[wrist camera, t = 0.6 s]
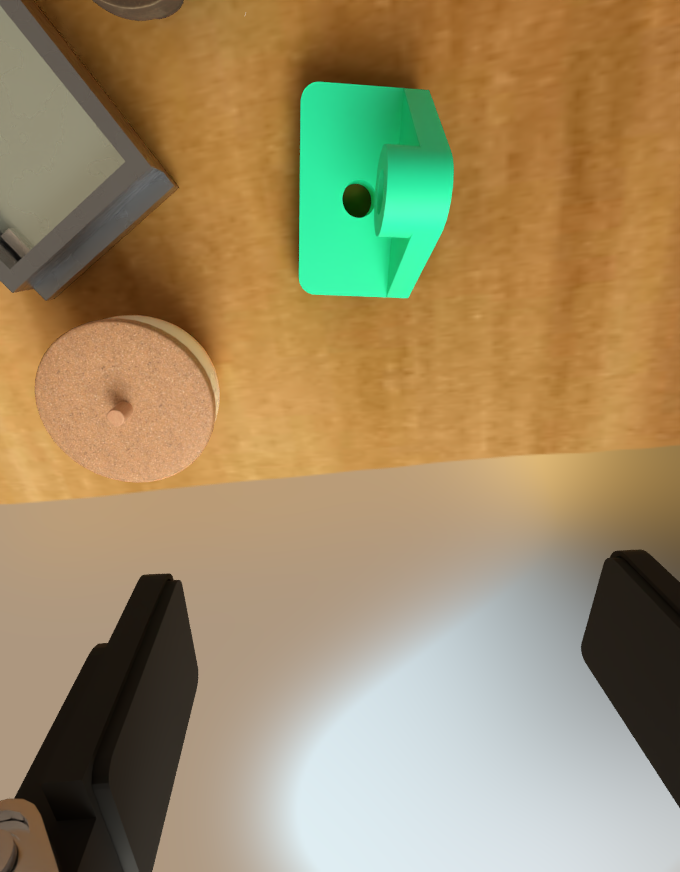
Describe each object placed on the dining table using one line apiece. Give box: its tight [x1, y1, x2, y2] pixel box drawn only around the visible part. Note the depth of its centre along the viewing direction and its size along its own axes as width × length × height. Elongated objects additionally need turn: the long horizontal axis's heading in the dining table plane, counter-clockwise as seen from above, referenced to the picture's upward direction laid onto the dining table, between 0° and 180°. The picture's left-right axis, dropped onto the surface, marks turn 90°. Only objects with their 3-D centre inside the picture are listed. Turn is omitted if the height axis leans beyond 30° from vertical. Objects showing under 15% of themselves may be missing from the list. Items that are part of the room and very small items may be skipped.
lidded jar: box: [35, 315, 220, 482], centre depth 31 cm, size 11×11×9 cm
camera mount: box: [299, 82, 454, 298], centre depth 27 cm, size 12×8×10 cm, turn 177°
